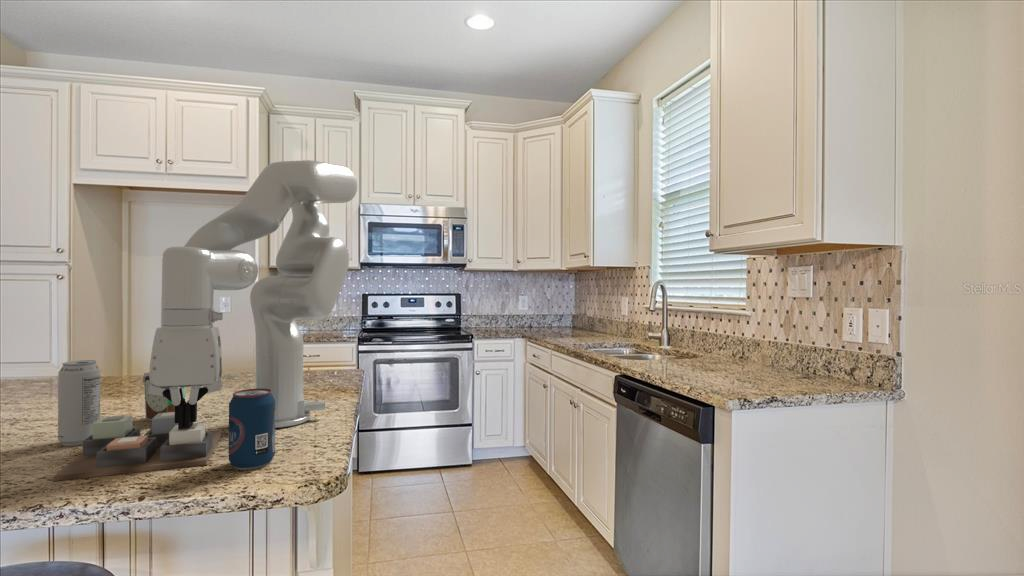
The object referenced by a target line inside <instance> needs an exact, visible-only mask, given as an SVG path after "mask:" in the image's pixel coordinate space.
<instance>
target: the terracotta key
mask: <svg viewBox="0 0 1024 576" xmlns="http://www.w3.org/2000/svg"><path fill="white" fill-rule="evenodd" d="M147 442H148V435H147V436H144V435H141V436H135V437H123V438H116V439H114V440H113V441H112V442H111V443H110V444H108V445H107V446H106V451H111V450H122V449H132V448H143V447H144V446H145V445H146V443H147Z"/></svg>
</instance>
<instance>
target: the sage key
mask: <svg viewBox="0 0 1024 576" xmlns="http://www.w3.org/2000/svg"><path fill="white" fill-rule="evenodd" d="M132 428H133V414H130V415H129V414H128V415H116V416H102V417H100V419H99V420H97V421H96V422H94V423H93V428H92V439H104V438H116V437H125V436H126V435H128V434H129V433H130V432H131V431H132Z"/></svg>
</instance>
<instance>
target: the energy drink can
mask: <svg viewBox="0 0 1024 576" xmlns="http://www.w3.org/2000/svg"><path fill="white" fill-rule="evenodd" d="M57 375H58V376H57V379H58V380H57V381H58V382H57V388H58V389H57V391H58V392H57V393H58V394H57V395H58V397H57V398H58V400H57V412H58V413H57V424H58V425H57V436H58V437H57V440H58V442H60V443H61V445H62V446H64V447H77V446H83V441H84V440H85V439H87V438H88V437H89V436H91V435H92V428H93V423H94V422H96V421H97V420H99V419H100V418H101V369H100V366H98V364H97V360H94V359H93V360H92V359H91V360H90V359H87V360H86V359H85V360H71V361H65V362H62V366H61V368H60V370H59V371H58V374H57Z"/></svg>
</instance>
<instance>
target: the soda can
mask: <svg viewBox="0 0 1024 576" xmlns="http://www.w3.org/2000/svg"><path fill="white" fill-rule="evenodd" d="M271 392H272V391H271V390H270V389H261V388H259V389H255V388H247V389H242V390H241V389H240V390H237V391H234V392H233V393H232V397H231V400H230V401H229V403H228V461H229V463H230V464H231V466H232V467H233V468H234V469H235V468H236V470H242V471H244V470H247V469H248V470H255V469H256V470H257V469H259V468H263V467H266V466H268V465H269V464H271V462H272V460H273V458H274V457H275V454H276V428H275V399H274V397H273V395H272V394H271ZM248 470H247V471H248Z"/></svg>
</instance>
